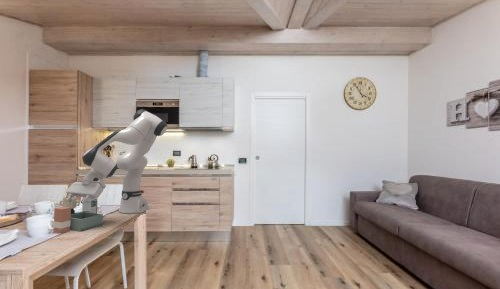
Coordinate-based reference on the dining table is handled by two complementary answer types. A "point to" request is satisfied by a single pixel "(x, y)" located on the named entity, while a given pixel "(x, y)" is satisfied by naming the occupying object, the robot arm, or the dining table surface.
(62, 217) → the salmon pink two-tone box
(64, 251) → the dining table surface
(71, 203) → the character mug
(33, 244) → the dining table surface
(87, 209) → the syrup box
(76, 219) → the tray
